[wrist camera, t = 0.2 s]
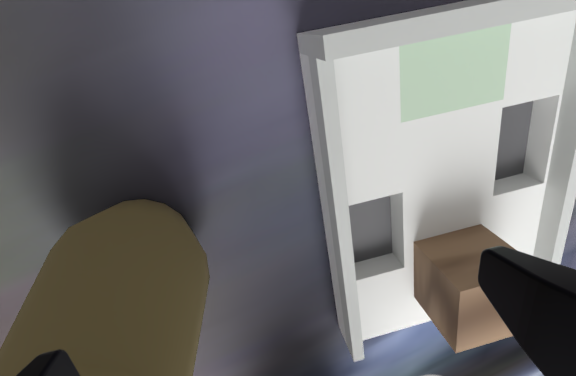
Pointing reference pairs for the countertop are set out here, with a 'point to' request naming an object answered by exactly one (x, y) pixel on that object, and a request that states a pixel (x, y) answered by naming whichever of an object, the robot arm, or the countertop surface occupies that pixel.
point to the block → (457, 287)
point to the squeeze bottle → (117, 296)
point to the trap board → (438, 142)
